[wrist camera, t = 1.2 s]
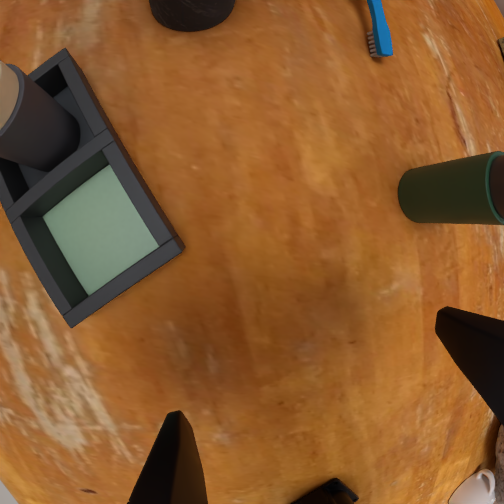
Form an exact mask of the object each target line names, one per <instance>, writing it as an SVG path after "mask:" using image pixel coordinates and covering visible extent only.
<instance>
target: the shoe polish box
mask: <svg viewBox="0 0 504 504" xmlns="http://www.w3.org/2000/svg"><path fill="white" fill-rule="evenodd" d="M498 41H499V44H500V47H501V50H502V53H503V56H504V37H503V38H501V39H498Z"/></svg>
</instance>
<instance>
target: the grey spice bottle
mask: <svg viewBox="0 0 504 504" xmlns="http://www.w3.org/2000/svg"><path fill="white" fill-rule="evenodd" d="M79 142H80V127H79V124H78V122H77V120H76V118H75V117H74V116H73V115H72V114H70V113H69V112H68V111H67V110H66V109H65V108H63V107H62V106H61V105H60V104H59V103H58V102H57V101H56V100H54V99H53V98H52V97H51V96H50V95H49V94H48V93H46V92H45V91H44V90H43V89H42V88H41V87H40V86H38V85H37V84H36V83H35V82H34V81H33V80H32V79H31V78H29V77H28V76H27V75H26V74H25V73H24V72H23V71H22V70H20V69H19V68H18V67H17V66H15V65H12V64H4V63H3V62H2V61H1V60H0V157H1V158H4V159H7V160H10V161H13V162H16V163H19V164H22V165H25V166H28V167H31V168H34V169H37V170H40V171H44V172H50V171H51V170H53V169H54V168H55V167H56V166H58V165H59V164H60V163H61V162H63V161H64V160H65V159H66V158H68V157H69V156H70V155H72V154H73V153H74V152H75V151H77V148H78V146H79Z"/></svg>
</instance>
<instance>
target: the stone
mask: <svg viewBox="0 0 504 504" xmlns="http://www.w3.org/2000/svg"><path fill="white" fill-rule="evenodd" d="M496 458H497V459H496V464H495V474H494V478H495V489H494V491H495V498H496V501H497V504H504V427H503V425H502V424H501V426H500V428H499V432H498V438H497V442H496Z"/></svg>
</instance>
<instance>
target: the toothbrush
mask: <svg viewBox="0 0 504 504" xmlns="http://www.w3.org/2000/svg"><path fill="white" fill-rule="evenodd" d="M367 3H368V6H369V9H370V13H371V18H372V25H373V31H371V32H368V33H367V35H372V36H370V37H368V39H369V40H371V39H372V41H369V44H373V45H370V46H369V48H370V49H371V48H374V49H371V50H370V52H371V53H372V54H370V56H371V57H374V56H375V57H379V58H381V57H384V56H385V57H387V56H391V55H393V50H392V42H391V36H390V30H389V28H388V25H387V22H386V19H385V15H384V11H383V8H382V3H381V0H367ZM373 52H374V53H373Z"/></svg>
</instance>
